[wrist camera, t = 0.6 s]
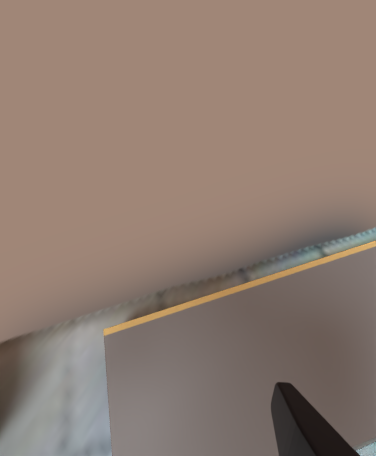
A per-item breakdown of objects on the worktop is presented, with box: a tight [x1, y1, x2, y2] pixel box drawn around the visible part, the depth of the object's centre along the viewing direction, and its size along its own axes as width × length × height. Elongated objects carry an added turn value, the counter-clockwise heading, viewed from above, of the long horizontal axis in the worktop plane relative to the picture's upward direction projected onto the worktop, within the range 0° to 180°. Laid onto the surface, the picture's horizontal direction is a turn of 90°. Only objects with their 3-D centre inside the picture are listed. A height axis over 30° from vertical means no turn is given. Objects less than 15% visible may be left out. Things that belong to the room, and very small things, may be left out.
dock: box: [103, 241, 376, 456], centre depth 22 cm, size 13×30×3 cm, turn 106°
